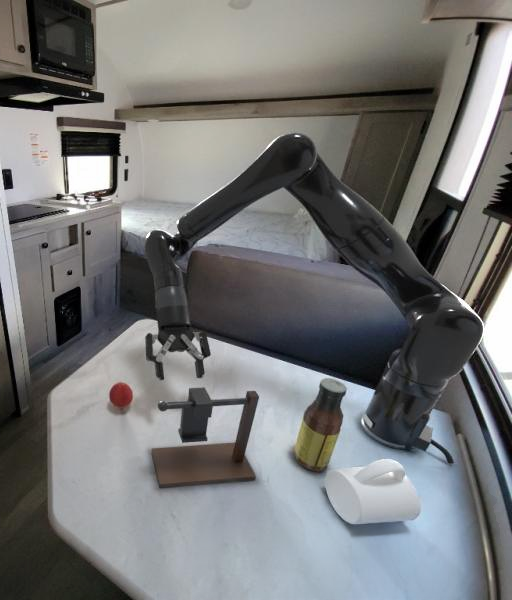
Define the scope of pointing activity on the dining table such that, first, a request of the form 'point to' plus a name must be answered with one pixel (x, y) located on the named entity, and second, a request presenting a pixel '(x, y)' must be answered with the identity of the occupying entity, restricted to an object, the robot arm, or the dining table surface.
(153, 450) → the rack
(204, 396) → the grey hanging weight
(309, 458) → the sauce bottle
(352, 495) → the mug
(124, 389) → the red rounded oval body
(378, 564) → the dining table surface
